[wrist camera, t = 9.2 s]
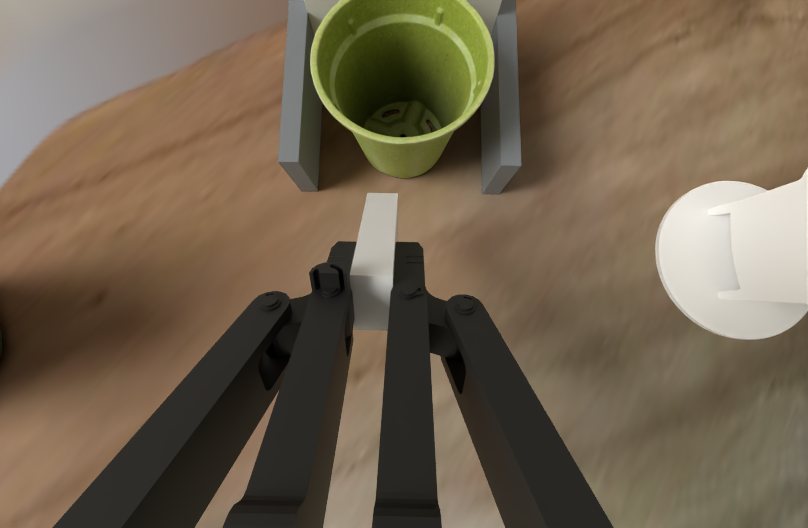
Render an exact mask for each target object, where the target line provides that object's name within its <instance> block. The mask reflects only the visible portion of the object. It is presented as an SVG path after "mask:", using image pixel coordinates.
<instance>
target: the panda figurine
mask: <svg viewBox="0 0 808 528" xmlns="http://www.w3.org/2000/svg"><path fill="white" fill-rule="evenodd" d="M655 256H656V264H657V269H658V273H659V276H660V279H661V281H662V284H663V286H664V288H665V290H666V292H667V293H668V295H669V297H670V298H671V299H672V301H673V302H674V303H675V305H676V306H677V307H678V308H679V309H680V310H681V311H682V312H683V313H684V314H685V315H686V316H687V317H688V318H689V319H690V320H692V321H693V322H695V323H696V324H697V325H699V326H701V327H703V328H704V329H706V330H708V331H710V332H713V333H715V334H718V335H721V336H725V337H729V338H735V339H749V340H753V339H763V338H768V337H772V336H775V335H777V334H780V333H782V332H784V331H786V330H788V329H789V328H791V327H792V326H794V325H795V324H796V323H797V322H798V321H799V320H800V319H801V318H802V317H803V316H804V315H805V314H806V312H807V311H808V168H807V170H806V171H805V173H804V175H803V177H802V178H801V179H800V180H798V181H795V182H792V183H789V184H787V185H784V186H781V187H778V188H775V189H772V190H769V191H767V190H766V189H763V188H761V187H758V186H755V185H752V184H749V183H744V182H737V181H719V182H713V183H709V184H705V185H702V186H700V187H697V188H695V189H693V190H691V191H689V192H687V193H686V194H684V195H683V196H681V197H680V198H679V199H678V200H677V201H675V202H674V203H673V204H672V206H671V207H670V208H669V209H668V211H667V212H666V214H665V215H664V217H663V219H662V221H661V223H660V226H659V229H658V233H657V237H656V244H655Z"/></svg>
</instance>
